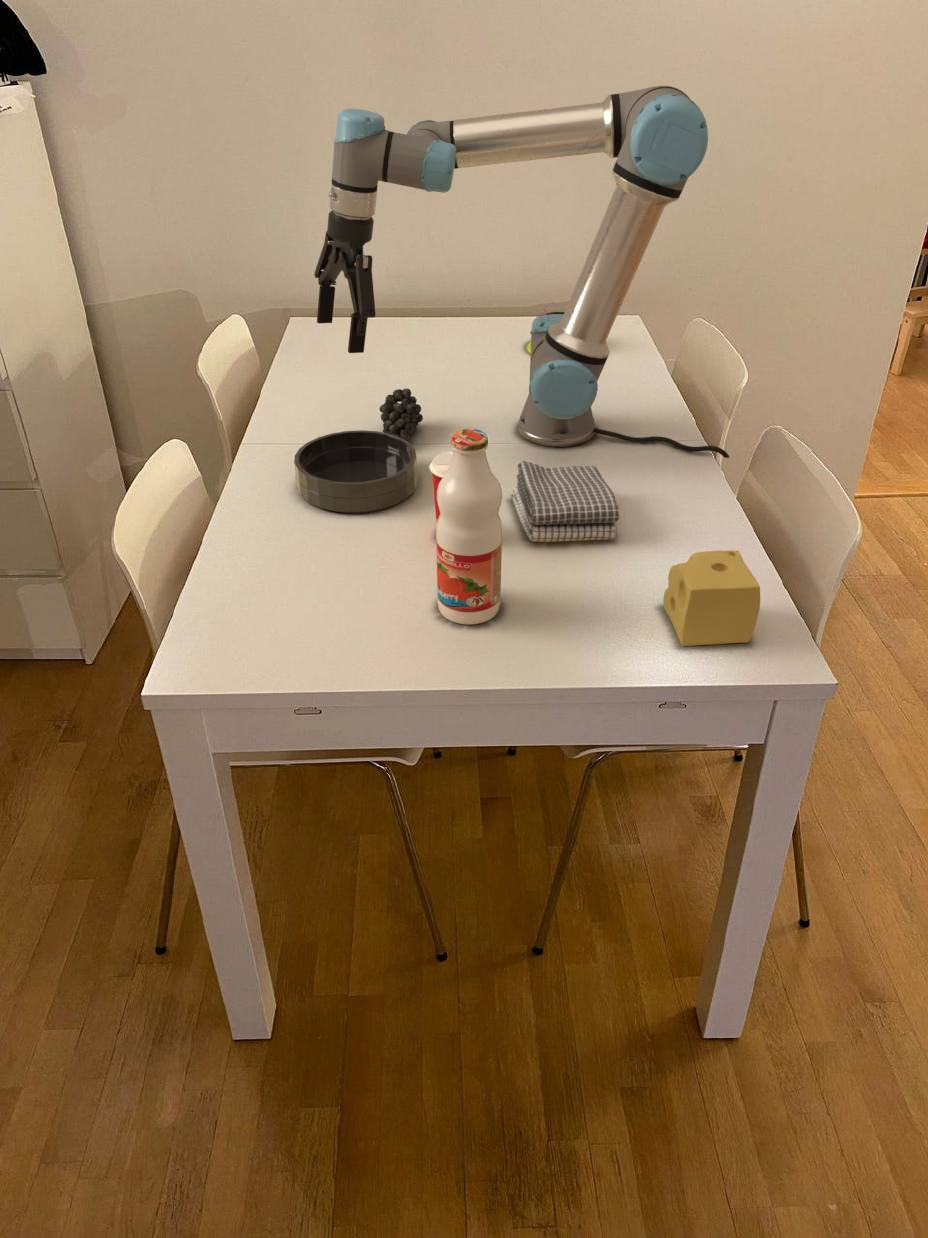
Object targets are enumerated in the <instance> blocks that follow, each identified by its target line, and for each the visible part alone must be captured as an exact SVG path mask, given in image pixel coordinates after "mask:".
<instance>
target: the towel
mask: <svg viewBox="0 0 928 1238" xmlns="http://www.w3.org/2000/svg"><path fill="white" fill-rule="evenodd" d="M517 468H518V473H517V474H516V479H517V484H516V485H517V486H515V487H513V488H512V492H511V494H510V498H511V502H512V503H513V506H514V508H515V511H516V514H517V517H518V520H519V521H520V524H521V527H522V529H523V530H524V533H525V535H526V538H527V539H528V540H529V542H531V543H535V542H536V543H555V542H557V543H558V542H559V543H560V542H581V541H583V542H584V541H585V542H586V541H606V540H615V539H616V538H617V535H616V532H617V525H616V523H617V522H618V521H619V520H620V516H619V515H620V513H619V506H618V503H617V500H616V496H615V494H614V492H613V490H612V489H611V488H610V486H609V485H608V484H607V482H606V481H605V480H604V478H603V477H602V474H601V473H600V471H599V470H598V468H597V466H596V465H584V466H582V465H577V466H576V465H573V466H559V467H551V468H550V467H544V466H542V465H541V466H540V465H538V464H537V463H533V462H530V461H529V462H528V461H525V460H521V461H520V462H519V463H518V464H517Z"/></svg>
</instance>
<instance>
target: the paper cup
mask: <svg viewBox="0 0 928 1238" xmlns="http://www.w3.org/2000/svg"><path fill="white" fill-rule="evenodd" d="M453 452H454V450H453V451H452V450H451V451H450V450H449V451H445V452H440V453H439V454H437V455H435V456H434V458H433V459H432V460H431V463H430V464H429V466H428V468H429V470H430V472H431V474H432V486H433V498H434V509H435V510H434V511H435V521H436V524H437V521H438V518H439V516H440V509H439V506H438V503H437V488H438V485H439V483H440V481H441V480H442V478H443V477H444V475H445V474H446V472H447V470H448V467H449V465H450V462H451V459H452V456H453Z"/></svg>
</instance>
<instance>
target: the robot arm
mask: <svg viewBox="0 0 928 1238" xmlns="http://www.w3.org/2000/svg"><path fill="white" fill-rule="evenodd" d="M337 115H338V116H337V121H336V128H335V129H336V130H335V135H334V140H333V143H334V144H333V157H332V172H331V186H330V191H329V192H328V197H329V198H330V200H329V208H330V211H329V212H328V216H327V217H328V218H327V227H326V228H327V229H326V231H325V236H324V242H323V246H322V249H321V252H320V255H319V258H318V262H317V264H316V268H315V270H314V274H313V275H314V278H315V279H317V283H318V286H319V291H318V300H317V301H318V304H317V314H316V315H317V316H316V323H317V324H333V318H334V317H333V315H334V306H335V305H334V304H335V296H336V287H335V286H337V281H336V280H337V279H338V277H339V276H340V274H341V273H342V272H343V277H344V278H345V279H346V280H347V283H348V288H349V294H350V299H351V304H352V308H353V309H352V310H353V313H351V314H350V318H351V319H350V325H349V335H348V336H349V337H348V345H347V347H348V348H347V352H348V353H349V354H362V353H363V354H364V353H365V345H366V344H365V343H366V335H367V327H368V326H367V325H368V319H371V318H376V304H375V302H376V301H375V294H374V293H375V292H374V281H373V256H372V255H370V254H369V255H366V254H364V246H365V244H367V243H370V242H371V241H372V239H373V232H374V222H375V220H374V218H373V216H375V214H376V207H377V196H378V184H379V182H383V183H388V184H393V185H399V186H404V187H408V188H413V189H416V190H417V189H418V190H423V191H425V192H428V193H431V192H433V193H434V192H435V193H441V194H442V193H448V192H449V191H450V190H451V188H452V184H453V179H454V173H455V169H456V170H457V169H463V168H464V169H465V168H471V167H482V166H490V165H498V164H499V165H500V164H507V163H510V164H511V163H518V162H526V161H527V162H528V161H536V160H546V159H555V158H563V157H572V156H581V155H582V156H583V155H591V154H592V155H593V154H601V153H604V154H605V155H607V156H608V157H609V158H610V159H615V158H616V161H615V163H614V165H613V168H612V170H611V173H612V175H613V179H614V181H615V188H614V190H613V193H612V195H611V198H610V200H609V203H608V204H607V208H606V210H605V212H604V215H603V217H602V220H601V222H600V224H599V227H598V230H597V232H596V234H595V237H594V239H593V241H592V244H591V247H590V248H589V252H588V253H587V256H586V259H585V261H584V265H583V266H582V269H581V271H580V273H579V276H578V279H577V281H576V284H575V285H574V288H573V291H572V294H571V296H570V298H569V301H568V302H567V304H566V308H565V309H564V312H565V313H564V314H551V315H545V314H543V315H544V316H543V315H542V316H540V315H539V316H540V317H537V316H536V317H535V318H534V319H533V321H532V323H531V329H530V331H529V332H530V333H529V334H530V342H531V353H530V355H529V356H530V357H529V384H528V386H529V387H528V395H527V398H526V400H525V402H524V405H523V407H522V408H523V409H522V411H521V412H520V416H519V419H518V434H519V435H520V436H521V437H522V438H523V439H525V440H527V441H528V442H530V443H533V444H536V445H540V446H545V447H555V448H565V447H575V446H578V445H581V444H585V443H587V442H589V441H590V440H592V439H593V438H594V435H595V434H598V435H601V436H602V435H603V436H606V437H611V438H615V439H619V440H621V441H625V442H631V443H649V442H650V443H651V442H660V443H665V444H669V445H671V446H673V447H675V448H677V449H680V450H682V451H685V452H692V453H693V452H695V453H696V452H715V453H718V454H720V455H721V456H722V457H723V458H725V459H729V458H730V455H729V453H727V452H726V450H724V449H723V448H721V447H719V446H716V445H701V446H700V445H699V446H691V445H685V444H683V443H680V442H679V441H676V440H674V439H672V438H669V437H665V436H657V435H655V436H653V435H652V436H643V437H642V436H641V437H637V436H636V437H635V436H631V435H625V434H621V433H618V432H614V431H610V430H605V429H601V428H596V421H595V418H594V413H593V410H592V405H593V404H594V402H595V400H596V398H597V395H598V390H599V385H598V381H599V379H600V376H601V374H602V372H603V369H604V367H605V365H606V362H607V361H608V358H609V356H610V349H609V346H608V344H607V339H608V337H609V334H610V332H611V330H612V327H613V326H614V323H615V320H616V319H617V316H618V314H619V312H620V309H621V307H622V305H623V303H624V301H625V298H626V296H627V293H628V291H629V289H630V288H631V285H632V282H633V280H634V278H635V276H636V273H637V271H638V269H639V267H640V265H641V262H642V260H643V257H644V255H645V253H646V250H647V248H648V246H649V244H650V241H651V239H652V237H653V235H654V232H655V231H656V228H657V226H658V223H659V222H660V219H661V217H662V214H663V212H664V210H665V208H666V207H667V206H668V205H670V204H672V203H674V202H677V201H678V200H679V199H680V197H681V194H682V192H683V190H684V188H685V186H686V184H687V181H688V179H689V177H691V176H692V175H694V173H695V172H696V171H697V170H698V168H699V167H700V165H701V164H702V162H703V160H704V158H705V156H706V153H707V149H708V143H709V132H708V125H707V120H706V117H705V115H704V113H703V112H702V110H701V108H700V107H699V105H697V104H696V102H695V101H693V100H692V99H691V97H689V95H688V94H686V93H685V92H684V91H683V90H681V89H679V88H678V87H675V86H671V85H655V86H651V87H650V86H649V87H645V88H641V89H636V90H632V91H631V90H630V91H625V92H619V93H612V94H608V95H607V96H606V97H605V99H603V101H601V102H594V103H585V104H577V105H570V106H569V105H568V106H561V107H551V108H545V109H536V110H535V109H534V110H527V111H518V112H510V113H503V114H493V115H485V116H477V117H468V118H460V119H453V120H444V121H443V120H442V121H436V120H432V119H424V120H421V121H418V122H417V123H415V124H413V125H412V126H411V127H410V129H409V130H408V131H407V133H399V132H395V131H390V130H388V129H386V126H385V123H386V122H385V118H384V116H383V115H381V114H379V113H377V112H374V111H373V112H372V111H370V110H368V109H367V110H366V109H360V108H345V109H343V110H342V111H341V112H339V113H338V114H337Z"/></svg>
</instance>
